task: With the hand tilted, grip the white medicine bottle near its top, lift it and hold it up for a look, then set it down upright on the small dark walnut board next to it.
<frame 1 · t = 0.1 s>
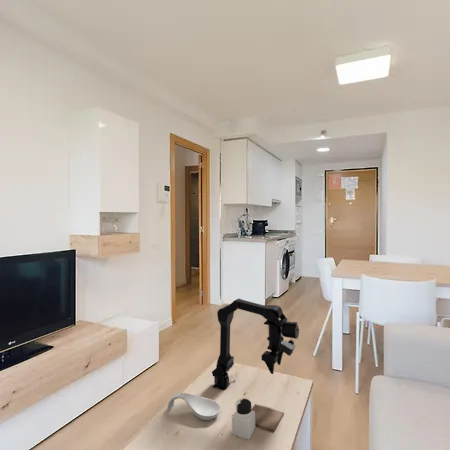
hand: (275, 369, 143), 15 cm above the table, tool pointing down, fingers open, 9 cm apart
walnut board: (264, 418, 131), on the table
spoon rest: (193, 413, 136), on the table
medicine bottle: (243, 432, 124), on the table
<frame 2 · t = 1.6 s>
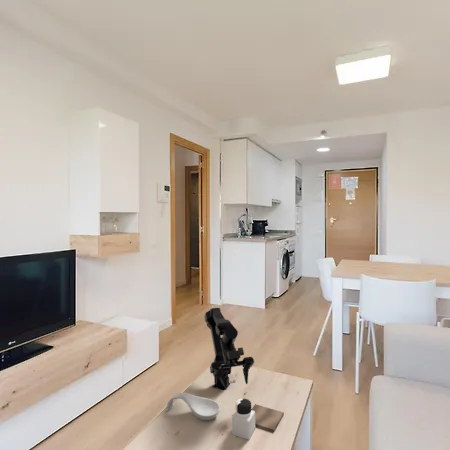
hand: (236, 385, 132), 13 cm above the table, tool tilted 45°, fingers open, 9 cm apart
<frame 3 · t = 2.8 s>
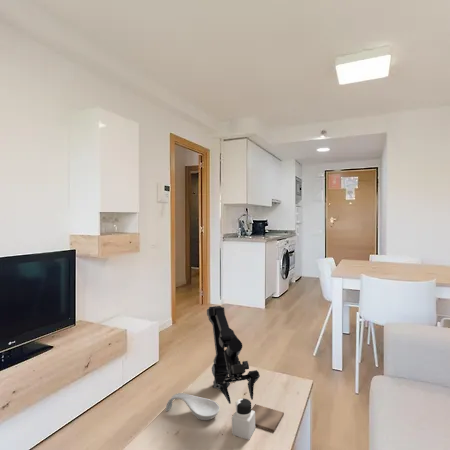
hand: (241, 401, 126), 10 cm above the table, tool tilted 45°, fingers open, 9 cm apart
nothing on the table moved.
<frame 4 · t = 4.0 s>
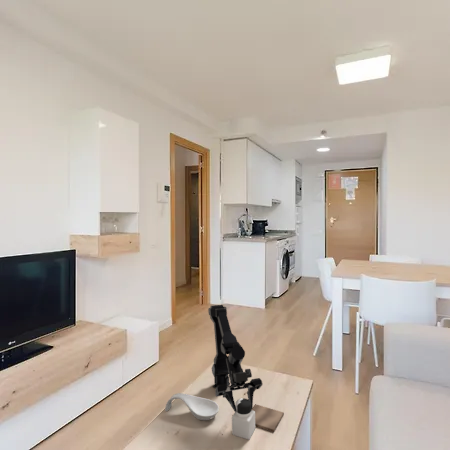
hand: (243, 410, 123), 9 cm above the table, tool tilted 45°, fingers closed on medicine bottle, 6 cm apart
medicine bottle: (243, 432, 124), on the table, touching gripper
everything else where it was.
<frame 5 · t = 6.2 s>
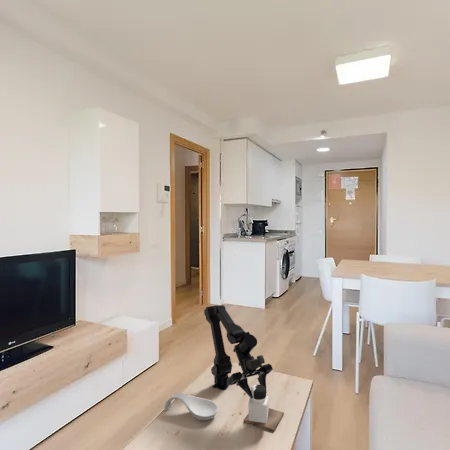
hand: (259, 395, 126), 12 cm above the table, tool tilted 45°, fingers closed on medicine bottle, 6 cm apart
medicine bottle: (258, 417, 127), point 3 cm above the table, touching gripper
when the fingers open (10 cm above the table, at t = 8.3 s): medicine bottle stays where it is, resting on walnut board.
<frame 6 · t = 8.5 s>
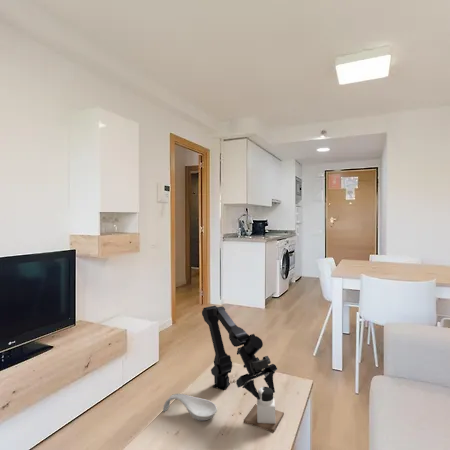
hand: (266, 396, 129), 11 cm above the table, tool tilted 45°, fingers open, 8 cm apart
medicine bottle: (266, 418, 130), point 1 cm above the table, touching walnut board
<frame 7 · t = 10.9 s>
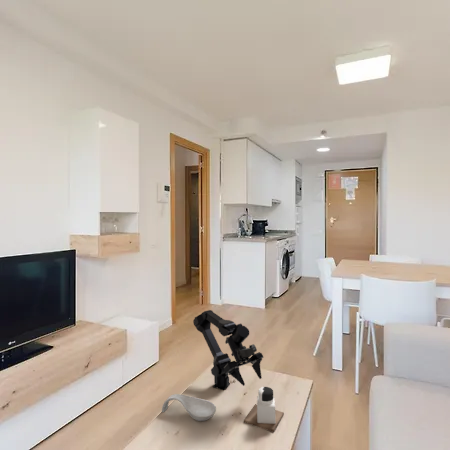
hand: (252, 381, 136), 13 cm above the table, tool tilted 45°, fingers open, 9 cm apart
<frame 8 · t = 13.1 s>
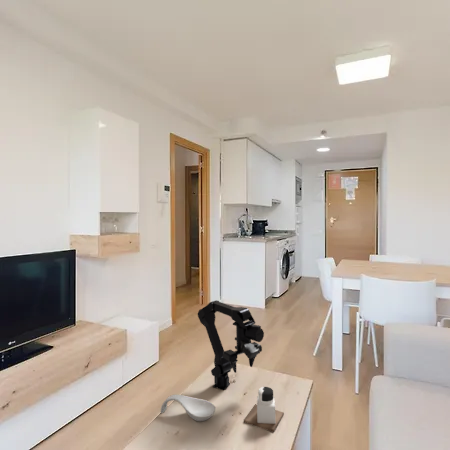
hand: (243, 369, 146), 13 cm above the table, tool pointing down, fingers open, 9 cm apart
at the end: medicine bottle inside the target area on the walnut board (1.1 cm from its centre), point 0.8 cm above the walnut board's base; medicine bottle tilted 0°; the gripper is holding nothing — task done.
